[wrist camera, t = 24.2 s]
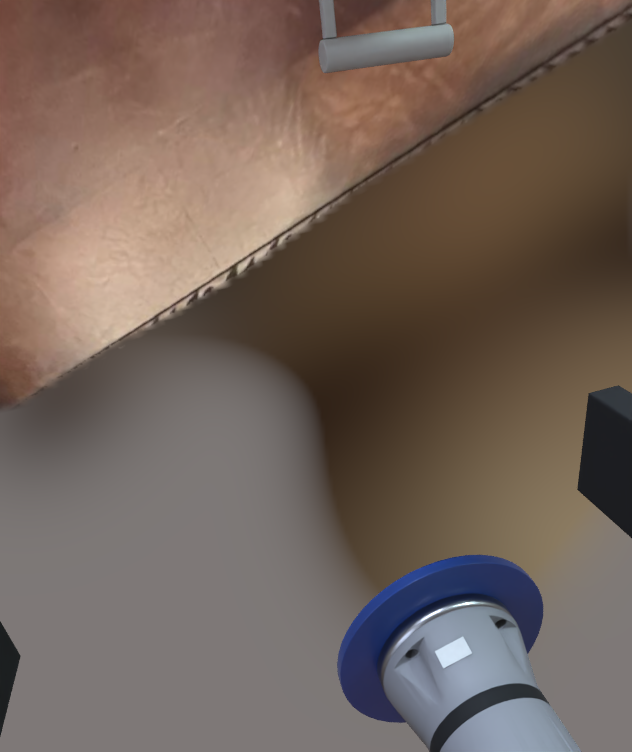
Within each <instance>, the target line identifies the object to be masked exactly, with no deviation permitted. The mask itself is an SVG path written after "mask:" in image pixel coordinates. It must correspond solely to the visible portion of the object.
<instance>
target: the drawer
mask: <svg viewBox="0 0 632 752" xmlns="http://www.w3.org/2000/svg"><path fill="white" fill-rule="evenodd" d="M319 5H320V15H321V24H322V34H323V39H322V40H321V41H320V43H319V62H320V66H321V69H322V71H323V72H324V73H330V72H338V71H345V70H352V69H359V68H366V67H374V66H381V65H388V64H395V63H402V62H410V61H417V60H424V59H431V58H439V57H446V56H448V55H450V53H451V52H452V49H453V44H454V34H453V29H452V27H451V25H449V24H445V23H446V0H431V23H432V26H424V27H416V28H408V29H401V30H393V31H385V32H377V33H369V34H361V35H354V36H346V37H338V38H335V37H336V36H337V34H336V23H335V12H334V2H333V0H319Z"/></svg>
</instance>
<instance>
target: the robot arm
mask: <svg viewBox="0 0 632 752" xmlns="http://www.w3.org/2000/svg"><path fill="white" fill-rule="evenodd" d="M578 491H580V492H581V493H582V494H583V495H584V496H585V497H586V498H588V500H590V501H591V502H592V503H593V504H594V505H595V506H596V507H598V508H599V509H600V510H601V511H602V512H603V513H604V514H605V515H606V516H608V517H609V518H610V519H611V520H612V521H613V522H614V523H615V524H617V525H618V526H619V527H620V528H621V529H622V530H623V531H624V532H626V533H627V534H628V535H629V536H630V537H631V538H632V394H631V393H630V392H628V391H627V390H625V389H623V388H622V387H620V386H614V387H611V388H607V389H603V390H600V391H596V392H592V393H589V396H588V404H587V412H586V421H585V431H584V438H583V446H582V455H581V463H580V472H579V481H578ZM19 660H20V654H19V653H18V651H17V649H16V648H15V646H14V644H13V642H12V641H11V639H10V637H9V635H8V634H7V632H6V630H5V629H4V627H3V625H2V623H1V622H0V735H1V731H2V727H3V723H4V719H5V716H6V712H7V708H8V703H9V700H10V696H11V691H12V687H13V684H14V680H15V676H16V672H17V668H18V664H19ZM377 673H378V677H379V680H380V683H381V685H382V688H383V690H384V693H385V695H386V697H387V699H388V700H389V701H390V703H391V704H392V705H393V707H394V708H395V709H396V710H397V712H398V713H399V714H400V715H401V716H402V718H403V719H404V720H405V721H406V722H407V724H408V725H409V726H410V727H411V728H412V730H413V731H414V732H415V733H416V734H417V736H418V737H419V738H420V739H421V740H422V742H423V743H424V744H425V745H426V747H427V748H428V750H429V752H581V750H580V749H579V748H578V746H577V744H576V743H575V741H574V740H573V738H572V737H571V735H570V734H569V732H568V731H567V729H566V728H565V726H564V725H563V723H562V722H561V721H560V719H559V718H558V716H557V715H556V713H555V712H554V710H553V709H552V707H551V706H550V705H549V703H548V702H547V700H546V698H545V697H544V695H543V694H542V692H541V691H540V689H539V688H538V686H537V683H536V680H535V677H534V674H533V670H532V668H531V664H530V661H529V658H528V654H527V651H526V648H525V645H524V642H523V638H522V635H521V632H520V630H519V627H518V624H517V622H516V621H515V619H514V618H513V617H512V615H511V614H510V612H509V611H508V609H507V608H506V607H505V605H504V604H503V603H501V602H500V601H499V600H497V599H495V598H493V597H491V596H487V595H483V594H460V595H455V596H450V597H447V598H444V599H441V600H438V601H436V602H433V603H431V604H429V605H427V606H425V607H423V608H422V609H420V610H418V611H417V612H415V613H414V614H412V615H411V616H410V617H408V618H407V619H406V620H405V621H403V622H402V623H401V624H400V625H399V626H398V627H397V628H396V629H395V630H394V631H393V633H392V634H391V635H390V636H389V638H388V639H387V641H386V642H385V644H384V646H383V648H382V650H381V652H380V655H379V658H378V663H377Z"/></svg>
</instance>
